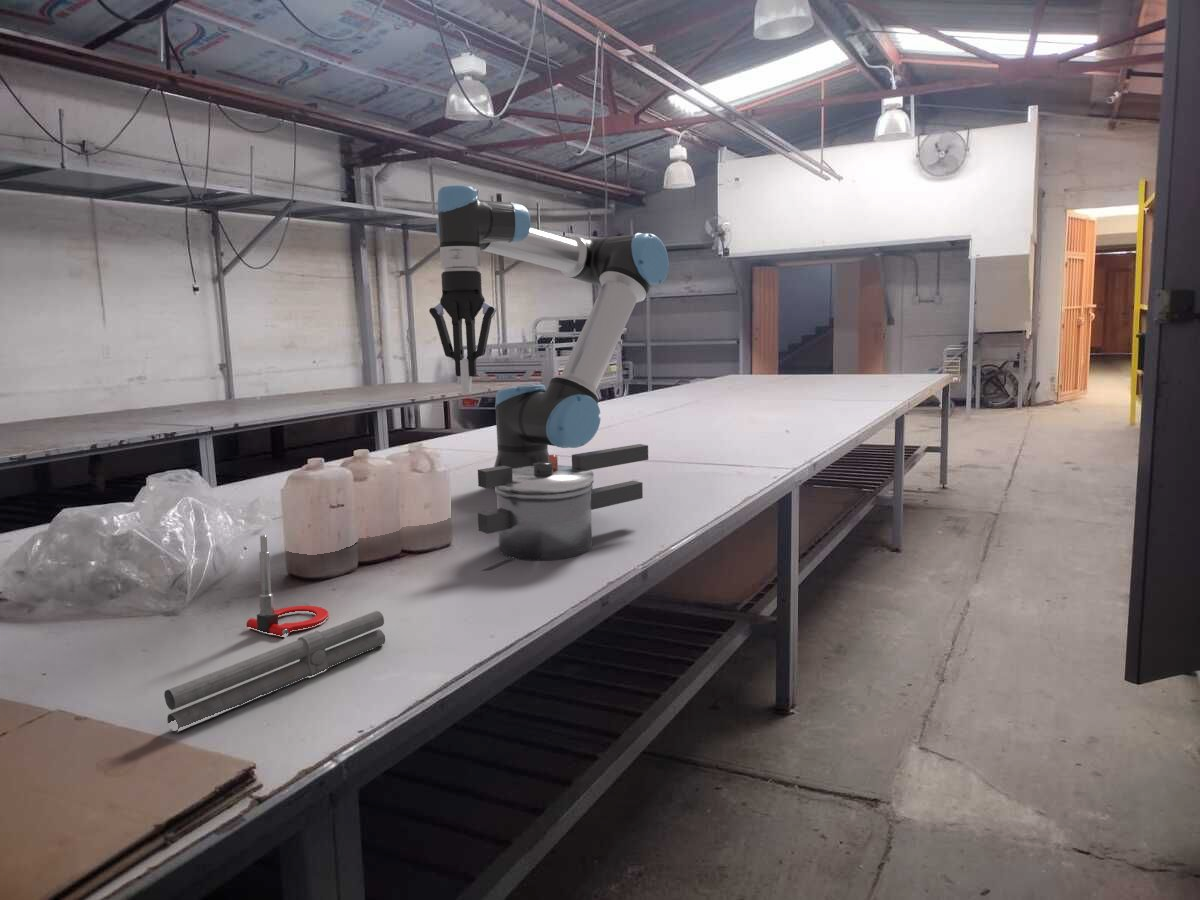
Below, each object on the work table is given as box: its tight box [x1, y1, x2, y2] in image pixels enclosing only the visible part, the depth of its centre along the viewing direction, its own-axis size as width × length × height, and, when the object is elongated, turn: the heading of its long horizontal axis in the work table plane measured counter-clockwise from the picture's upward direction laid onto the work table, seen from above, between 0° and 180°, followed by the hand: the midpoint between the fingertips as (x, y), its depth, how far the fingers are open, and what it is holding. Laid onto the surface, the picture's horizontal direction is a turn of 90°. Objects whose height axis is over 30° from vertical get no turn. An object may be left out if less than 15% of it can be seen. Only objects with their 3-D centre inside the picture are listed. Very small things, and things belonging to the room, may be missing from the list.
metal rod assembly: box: [163, 610, 386, 729], centre depth 89 cm, size 26×3×5 cm, turn 144°
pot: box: [477, 480, 644, 562], centre depth 141 cm, size 26×26×11 cm
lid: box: [477, 443, 649, 494], centre depth 140 cm, size 35×17×4 cm, turn 129°
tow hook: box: [245, 534, 329, 636], centre depth 106 cm, size 8×13×9 cm
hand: (467, 393), depth 159 cm, fingers closed
